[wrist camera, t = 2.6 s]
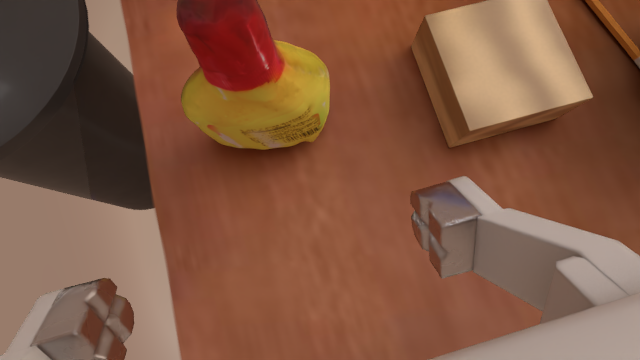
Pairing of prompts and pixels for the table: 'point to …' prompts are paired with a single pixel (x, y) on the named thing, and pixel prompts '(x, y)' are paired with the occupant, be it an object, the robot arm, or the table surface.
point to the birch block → (497, 68)
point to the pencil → (615, 30)
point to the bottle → (250, 78)
